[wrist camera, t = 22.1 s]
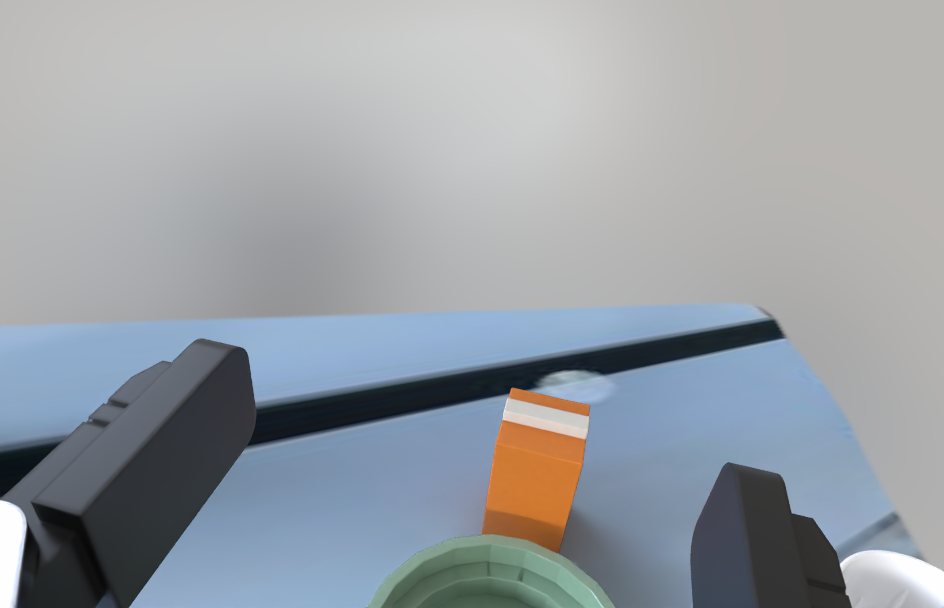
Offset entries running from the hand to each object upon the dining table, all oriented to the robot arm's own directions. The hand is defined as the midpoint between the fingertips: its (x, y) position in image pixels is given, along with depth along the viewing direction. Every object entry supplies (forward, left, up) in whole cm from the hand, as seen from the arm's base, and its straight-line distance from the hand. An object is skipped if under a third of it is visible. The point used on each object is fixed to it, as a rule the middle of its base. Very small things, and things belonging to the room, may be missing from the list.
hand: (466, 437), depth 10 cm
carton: (-9, +18, -28) cm, 34 cm away
